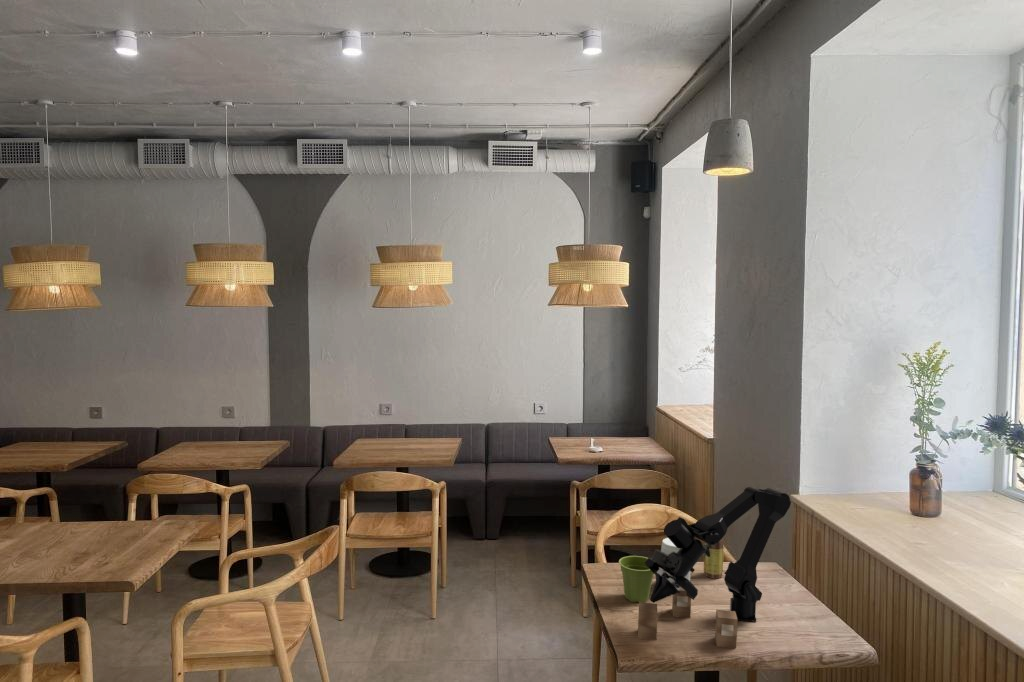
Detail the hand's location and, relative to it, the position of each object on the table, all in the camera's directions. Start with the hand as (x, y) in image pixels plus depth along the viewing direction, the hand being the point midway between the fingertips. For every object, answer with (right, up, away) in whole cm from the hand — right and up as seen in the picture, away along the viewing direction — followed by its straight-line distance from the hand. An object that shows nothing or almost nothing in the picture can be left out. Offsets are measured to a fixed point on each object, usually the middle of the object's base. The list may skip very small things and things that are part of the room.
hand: (651, 601), depth 201 cm
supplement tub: (+14, -8, +34) cm, 38 cm away
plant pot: (0, -8, +24) cm, 26 cm away
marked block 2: (+19, -10, -4) cm, 22 cm away
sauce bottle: (+29, -7, +43) cm, 53 cm away
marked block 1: (+12, -9, +14) cm, 20 cm away
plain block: (-1, -9, 0) cm, 9 cm away
